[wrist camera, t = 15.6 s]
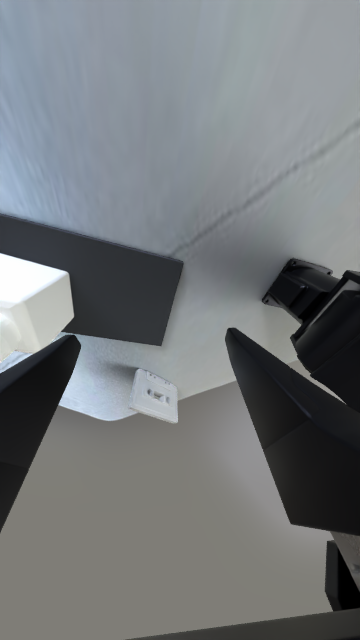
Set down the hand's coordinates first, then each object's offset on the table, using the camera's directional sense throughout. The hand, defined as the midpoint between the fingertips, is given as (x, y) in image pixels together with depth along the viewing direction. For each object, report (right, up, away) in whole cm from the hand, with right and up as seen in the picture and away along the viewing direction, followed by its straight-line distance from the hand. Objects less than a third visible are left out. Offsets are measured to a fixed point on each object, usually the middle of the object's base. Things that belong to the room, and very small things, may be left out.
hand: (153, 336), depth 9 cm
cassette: (-3, -13, +25) cm, 28 cm away
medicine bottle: (-16, +5, +10) cm, 20 cm away
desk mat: (-11, +4, +11) cm, 16 cm away
